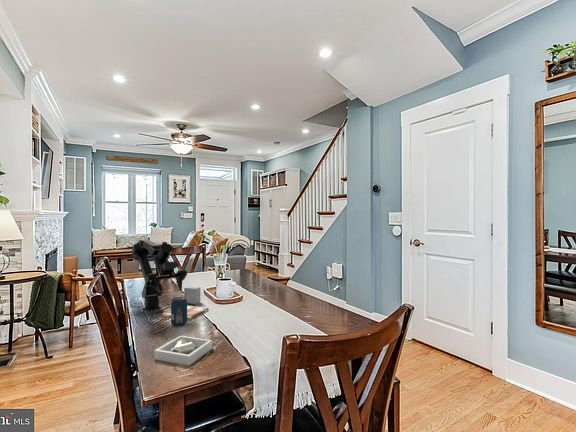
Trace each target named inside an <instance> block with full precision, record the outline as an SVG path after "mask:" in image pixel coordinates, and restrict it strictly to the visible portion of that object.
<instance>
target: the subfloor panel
mask: <svg viewBox="0 0 576 432" xmlns="http://www.w3.org/2000/svg"><path fill="white" fill-rule="evenodd" d="M206 310H208V311H209V307H205V306H204V307H203V306H193V305H187V321H190V320H192V319H195V318H197V317H198V316H200V315H202V314H204V313H206V312H207V311H206ZM205 311H206V312H205ZM203 312H204V313H203ZM161 317H162V318H163V317H164V318H170V319H171V309H169V310H167V311H164V312H163V313H161Z"/></svg>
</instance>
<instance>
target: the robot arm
mask: <svg viewBox="0 0 576 432" xmlns="http://www.w3.org/2000/svg"><path fill="white" fill-rule="evenodd" d="M173 250H174V247H173V246H172V245H171V244H170V243H167V241H163V242H162V243H155V242H154V241H152V240H150V239H148V238H145V239H144V238H141V239H139V240H138V241H137V242H136V243H135V244H134V245H133V246H132V248H131V255H132V256H133V258H134V260H136V261H138V264H139V266H140V270H141V272H142V276H143V279H144V285H143V289H142V291H141V293H140V294H141V298H142V299H144V307H143V308H142V310H145V311H146V310H147V311H155V310H156V309H159V308H161V305H160V299H159V297H161V296H162V295H163V285H162V284H161V280H162V281H164V280H172V279H175V282H176V284H177V288H178V290H179V291H180V292H182V291H183V281H184V280H185V278H186V277H187V276H188V271H187V270H186V269H179V270H177V272H176V273H174V272H175V270H174V269H176V268H178V267H179V266H180V263H179V261H178V260H176V259H175V260H173V261H168V260H169V258H170V256H171V255H172V252H173ZM149 256H151V257H154V259H153V261H154V262H153V264H154V265H155V267H156V272H155V273H154V272H153V270H152V266H151V264H150V262H149V261H150V260H149V258H148V257H149Z"/></svg>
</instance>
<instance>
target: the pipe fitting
mask: <svg viewBox="0 0 576 432" xmlns="http://www.w3.org/2000/svg"><path fill="white" fill-rule="evenodd" d="M195 348H196V347H195V345H194V344H193V343H192V342H190V343H187V342H186V341H185V340H183V339H181V340H179V341H178V342H177V343H176V345H175V347H174V348H172V349H171V350H170V352H176V353H182V354H190V353H192V352H193V351H195V350H194V349H195Z"/></svg>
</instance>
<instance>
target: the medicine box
mask: <svg viewBox="0 0 576 432" xmlns="http://www.w3.org/2000/svg"><path fill="white" fill-rule="evenodd" d="M183 290H184V291H183V293H184V294H183V297H186V300H187V305H188V304H189V305H191V304H192V305H197V303H198V304H200V303H201V302H200V301H202V300H201V299H202V298H201V294H202V293H201V287H200V286H186V287H184V289H183ZM199 302H200V303H199Z"/></svg>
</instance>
